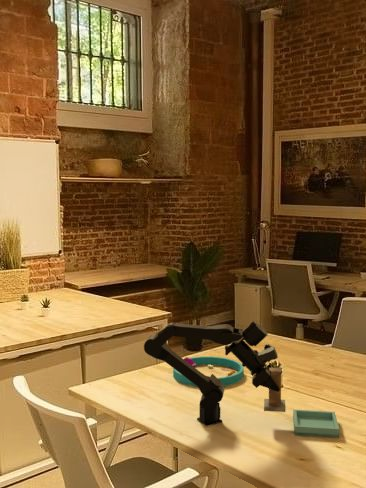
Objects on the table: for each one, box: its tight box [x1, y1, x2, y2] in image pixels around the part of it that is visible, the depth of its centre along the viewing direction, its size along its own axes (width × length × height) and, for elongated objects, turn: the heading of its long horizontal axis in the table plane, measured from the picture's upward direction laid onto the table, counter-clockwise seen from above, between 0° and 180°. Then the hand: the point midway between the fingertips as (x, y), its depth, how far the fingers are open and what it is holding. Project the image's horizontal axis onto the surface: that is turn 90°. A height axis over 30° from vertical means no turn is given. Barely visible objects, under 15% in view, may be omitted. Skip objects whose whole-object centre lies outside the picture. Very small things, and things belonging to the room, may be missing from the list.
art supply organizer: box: [172, 355, 245, 387], centre depth 243 cm, size 30×30×6 cm
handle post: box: [263, 367, 287, 413], centre depth 191 cm, size 7×7×13 cm
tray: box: [292, 409, 340, 439], centre depth 190 cm, size 14×14×3 cm
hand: (279, 388), depth 191 cm, fingers closed on handle post, 4 cm apart
